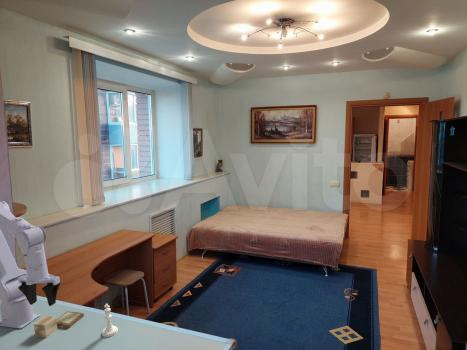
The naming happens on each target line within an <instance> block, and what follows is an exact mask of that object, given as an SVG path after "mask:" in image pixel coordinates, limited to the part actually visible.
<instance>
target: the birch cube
mask: <svg viewBox="0 0 467 350" xmlns="http://www.w3.org/2000/svg"><path fill="white" fill-rule="evenodd" d="M56 319H57V317H55V316H46V315H44V316H43V317H41V318H40V319H39V320H37V321H36V322H34V323H33V329H34V336H35V337H36V338H37V337H39V338H45V339H46V338H47V339H48V338H49V337H50V336H52V334H53V333H55V332H56V331H58V327H57V323H56Z"/></svg>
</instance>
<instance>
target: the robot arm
mask: <svg viewBox="0 0 467 350" xmlns="http://www.w3.org/2000/svg"><path fill="white" fill-rule="evenodd" d="M5 226H6V227H5ZM3 227H5V228H6V229H5V230H6V231H7V232H8V233H9V234H10V235H12V236H13V237H14V238H15V239H16V241H17V242H16V243H17V244H18V246H19V248H20V252H21V254H23V258H24V264H25V269H22V268H19V267H18V264H17V262H16V259H15V258H14V255H13V253H12V251H11V249H10V247H9V244H8V242H7V240H6V237H5V236H4V233H3V231H2V230H3V229H2V228H3ZM46 241H47V233H46V230H45V229H44V228H43V227H42V226H41V225H32V224H31V223H30V222H29V221H27V220H26V219H24V218H22V216H21V217H20V216H19V217H16V216H15V215H14V214H13V213H12V212H11V210H10V206H9V204H8V203H7V202H6V201H4V200H1V201H0V273H1V277H0V301H1V303H0V316H1V322H2V323H1V324H0V326H1V327H7V328H12V329H13V328H14V329H23V328H25V327H26V326H27V325H29V324H30V323H32V322H33V321H35V320H37V319H38V318H39V317H40V316H41V314H40V313H34V307H33V304H35V303H36V302H37V301H38V296H37V284H45V285H44V286H42V288H41V290H42V291H43V292H44V295H45V296H46V297H45V298H46V300H47V304H48V306H49V307H51V306H52V307H53V305H55V304H56V303H57V302H56V301H57V296H58V290H59V288H60V285H61V283H62V282H61V280H60V276H57V275H54V274H50V273H49V270H48V264H47V257H46V252H45V246H44V243H45V242H46Z"/></svg>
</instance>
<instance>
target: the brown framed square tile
mask: <svg viewBox="0 0 467 350" xmlns="http://www.w3.org/2000/svg"><path fill="white" fill-rule="evenodd" d="M84 317H85V314H84V312H79V311H77V312H76V311H65V312H64V313H63V314H62V315H60V316H59V317H57V318H56V323H57V328H59V327H60V328H67V329H70V328H72V327H73V326H74V325H75V324H76V323H78V322H79V321H80V320H81V319H82V318H84Z"/></svg>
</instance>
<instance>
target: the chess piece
mask: <svg viewBox="0 0 467 350" xmlns="http://www.w3.org/2000/svg"><path fill="white" fill-rule="evenodd" d="M110 306H111V305H109V304H108V303H105V305H104V306H103V307H104V308H105V309H103V312H104V314H105V316H104V319H105V320H106V327H105V328H104V329H103V330H102V331H101V335H102V337H105V338H109V337H112V336H114V335H117V333H118V331H119V329H118V326H116V325H113V324H112V320H111V318H112V316H113V315H112V314H111V308H110Z"/></svg>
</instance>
